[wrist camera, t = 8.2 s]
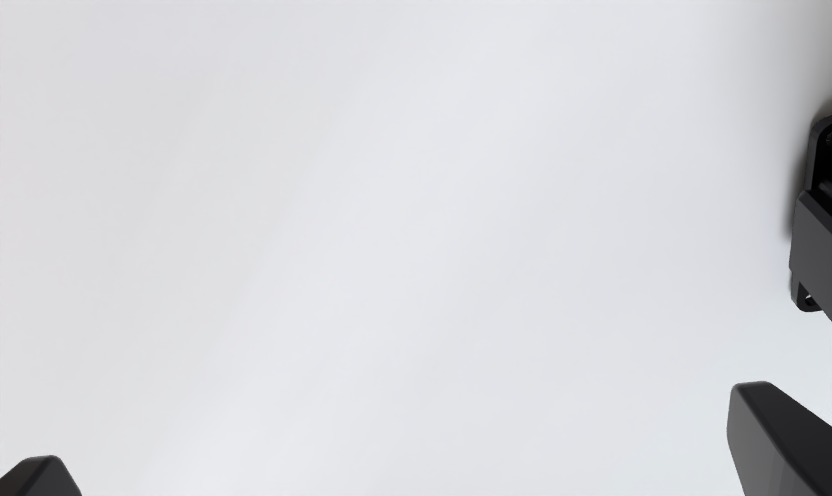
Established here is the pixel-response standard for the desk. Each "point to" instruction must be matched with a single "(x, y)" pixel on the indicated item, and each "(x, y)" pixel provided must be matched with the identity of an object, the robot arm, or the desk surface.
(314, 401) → the desk surface
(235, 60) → the desk surface
